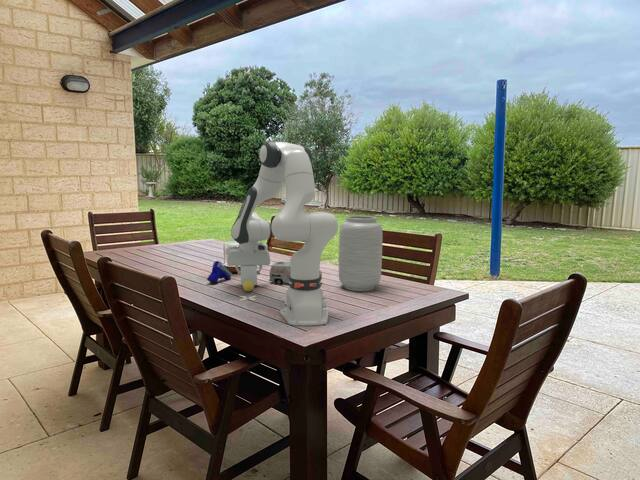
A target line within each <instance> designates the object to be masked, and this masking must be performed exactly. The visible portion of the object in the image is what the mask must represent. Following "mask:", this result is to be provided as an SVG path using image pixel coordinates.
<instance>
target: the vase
mask: <svg viewBox="0 0 640 480" xmlns="http://www.w3.org/2000/svg"><path fill="white" fill-rule="evenodd" d="M382 263H383V227H382V224H381V223H379V222H377V217H375V216H370V215H369V216H368V215H349V216H346V218H345V221H343V222H342V223H341V224H340V226H339V233H338V280H339V282H340V283H341V285H343V286H344V289H346V290H349V291H353V292H369V291H372V290H374V289H375V287H377V286H378V285H379V283H380V282H381V279H382Z"/></svg>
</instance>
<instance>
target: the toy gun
mask: <svg viewBox="0 0 640 480" xmlns="http://www.w3.org/2000/svg"><path fill="white" fill-rule="evenodd" d="M211 266H212V268H211V272H210V274H209V275H208V277H207V278H206V280H207V281H209V282H210V283H211V284H214V283H215V285H218V284H219V280H222V279H224V280H229V281H231V277H232V275H233V273H232V272H231V271H230V270H229V269H228V268H227V267H225V266H224V264H222V261H219V260H216V261H214V262H213V263H212V265H211Z"/></svg>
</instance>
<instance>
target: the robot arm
mask: <svg viewBox="0 0 640 480" xmlns="http://www.w3.org/2000/svg"><path fill="white" fill-rule="evenodd" d="M312 153H313V152H312V150H311V148H309V147H307V146H306V145H303V144H300V145H299V144H295V143H291V142H286V141H273V140H271V141H264V142H263V143H262V144H261V146H260V148H259V153H258V158H259V162H260V163H261V166H260V169H259V172H258V177H257V179H256V181H255V183H253V186H251V187H250V188H249V189H248V190H247V192H246V194H245V196H244V199H243V201H242V205H241V207H240V208H239V209H240V210H239V212H238V214H237V217H236V219H235V221H234V223H233V224H232V226H231V230H230V234H231V238H232V239H233V240H234V242H236V243H237V244H238V245H229V246H228V247H226V248H225V249H226V250H225V253H226V255H227V258H226V259H227V260H226V265H228V266H229V267H233V266H235V267H234V268H235V270H236V272H237V276H241V270H240V269H239V267H241V266H253V265H257V266H258V268H259V269H257V276H260V275H261V270H262V269H263V266H270V264H271V256H270V252H269V250H268V248H269V247H268V244H267V243H264V242H263V241H267V240H269V239H270V237H271V236H272V235H273V237H274V238H275V239H276V240H278V241H282V242H289V243H291V242H304V244H303V246H302V247H301V248H300V249H299V250H297V251H296V252H294V253H293V254H292V255H291V257H290V261H289V262H290V277H289V283H288V289H287V290H285V293H284V309H280V310H279V314H280V315H281V317H282V318H283V319H284V320H285V321H286V323H287V324H288V325H292V326H304V327H306V326H321V325H325V324H328V321H329V313H330V312H329V311H330V309H328V308H327V307H328V306H327V305H328V302H327V301H325V300H326V296H325V295H324V290H323V289H322V288H321V282H322V280H320V277H319V271H321V269H320V267H321V265H320V264H321V258H322V253H323V252H324V249H325V248H326V246H327V245H328V243H329V242H330V241H331V240H332V239H334V238H335V236H336V235H337V233H338V231H339V223H338V219H337V217H336V215H334V213H331V212H326V211H305V210H304V206H305V205H308V204H309V203H310V202H312V201H313V200H314V199H315V197H316V192H317V190H316V185H315V177H314V171H313V170H314V169H313V167H312V163H313V154H312ZM284 182H285V201H284V202H285V203H284V206H283V207H282V209H281V210H280V212H278V213H277V214H276V215H274V217H273V219H272V222H271V224H270V222H269V221H268V220H267V219H263V218H262V217H260V216H259V215H258V212H256V211H255V209H256V207H257V206H258V205H260V204H261V203H263V202H264V201H268V200H270V199H273V198H274V197H276V196H278V195H279V194H280V192H281V191H282V189H283V185H284ZM261 241H262V242H261Z"/></svg>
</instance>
